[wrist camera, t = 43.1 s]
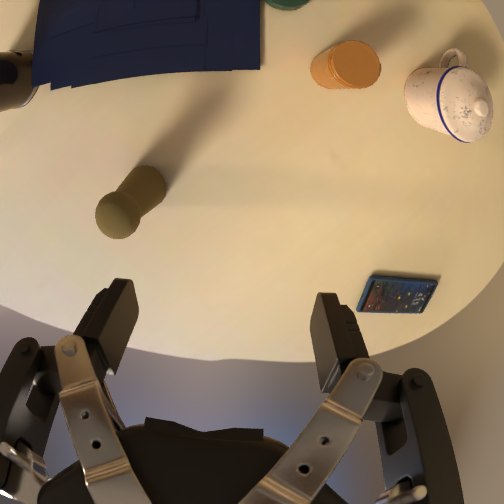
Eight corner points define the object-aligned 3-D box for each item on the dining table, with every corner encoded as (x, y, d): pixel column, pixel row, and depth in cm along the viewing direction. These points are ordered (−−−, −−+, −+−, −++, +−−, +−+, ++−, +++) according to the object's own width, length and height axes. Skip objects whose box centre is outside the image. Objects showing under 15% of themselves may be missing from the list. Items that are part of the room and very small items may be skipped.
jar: (311, 88, 29) (332, 86, 21) (308, 51, 27) (329, 36, 18) (349, 90, 29) (382, 91, 21) (347, 54, 27) (380, 43, 18)
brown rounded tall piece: (152, 157, 34) (116, 184, 25) (174, 196, 37) (148, 234, 27) (118, 179, 35) (77, 211, 26) (140, 214, 38) (108, 255, 29)
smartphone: (370, 277, 42) (439, 282, 43) (369, 274, 43) (437, 279, 44) (355, 313, 46) (422, 314, 47) (354, 309, 47) (420, 311, 48)
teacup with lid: (447, 137, 31) (500, 159, 21) (396, 119, 31) (448, 135, 21) (457, 62, 25) (512, 65, 15) (406, 39, 25) (458, 28, 15)
